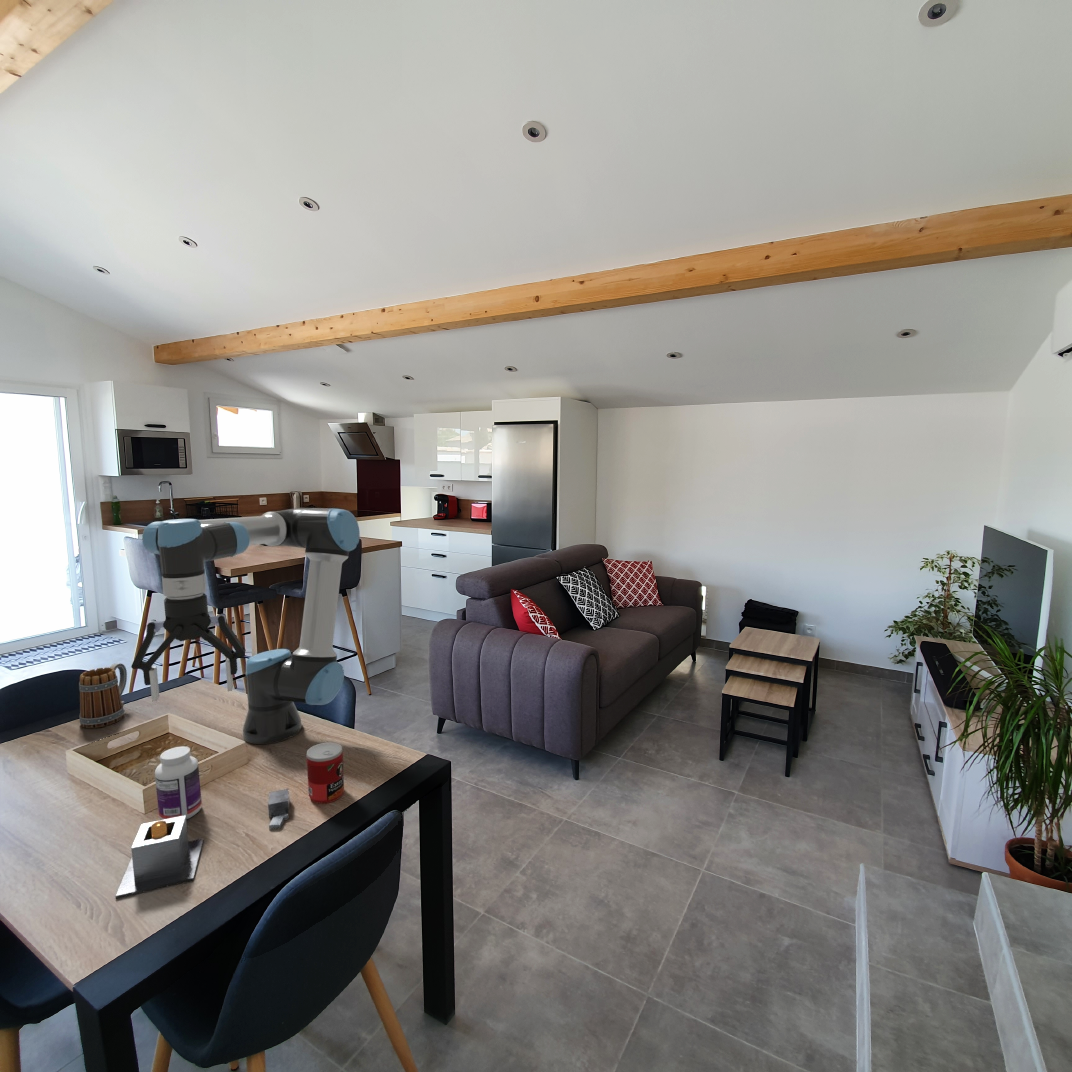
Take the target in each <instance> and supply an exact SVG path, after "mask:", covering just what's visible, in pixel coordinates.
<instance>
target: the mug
mask: <svg viewBox="0 0 1072 1072" xmlns="http://www.w3.org/2000/svg"><path fill="white" fill-rule="evenodd" d="M117 669H118V671H119V679H118V676H117V673H116V672H117V671H116V670H117ZM127 678H128V672H127V668H126V666H125V664H123V663H118V662H117V663H113V664H111V665H110V666H109V667H107V666H106V667H98V668H96V669H95V668H94V669H89V670H88V671H86V670H85V671H84V672H82V673H81V674H80V676H79V682H78V690H79V703H80V704H79V712H80V713H79V723H80V726H81V727H83V728H86V729H97V728H99V729H100V728H103V727H108V726H111V725H113V724H115V723H117V722H119V721H121V720H122V719H123V717H124V716H125V710H124V705H125V701H124V700H122V698H121V697H122V695H123V693H124V691H125V689H126V685H127V682H128V681H127V680H128V679H127Z"/></svg>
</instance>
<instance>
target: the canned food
mask: <svg viewBox="0 0 1072 1072" xmlns="http://www.w3.org/2000/svg"><path fill="white" fill-rule="evenodd" d="M343 752H344V751H343V746H342V745H341V744H339V743H336V742H328V741H327V742H322V743H318V744H317V743H316V745H315V744H314V745H313V746H310V748H308V749H307V751H306V771H307V787H308V790H307V791H308V797H309V798H310V800H311V802H314V803H316V804H329V803H332V802H334V801H337V800H338V799H340V798H342V796H343V794H344V791H345V779H344V778H345V777H344V754H343Z"/></svg>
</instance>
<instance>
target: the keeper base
mask: <svg viewBox="0 0 1072 1072" xmlns="http://www.w3.org/2000/svg"><path fill="white" fill-rule="evenodd" d="M157 821H158V822H155V823H154V824H152V826H151V831H152V839H155V838H160V837H165V836H167V825H166V821H159V820H157ZM203 845H204V837H203V838H198V839H194V840H188V846H189V848H188V852H187V855H186V859H185V862H184V866H183V869H182V872H181V873H177V874H172V875H168V876H164V877H159V878H155V879H151V880H146V881H142V882H137V883H135V881H134V871H133V861H132V857H131V858H130V860H129V863H128V865H127V868H126V870H125V872H124V874H123V877H122V880H121V882H120V884H119V887H118V889H117V892H116V894H115V900H119V899H122V898H127V897H130V896H135V895H139V894H143V893H147V892H151V891H155V890H160V889H165V888H168V887H172V886H173V887H174V886H177V885H181V884H185V883H186V884H187V883H190V882H193V881H194V880H195V877H196V872H197V869H198V865H199V861H200V856H201V852H202V848H203Z"/></svg>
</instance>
